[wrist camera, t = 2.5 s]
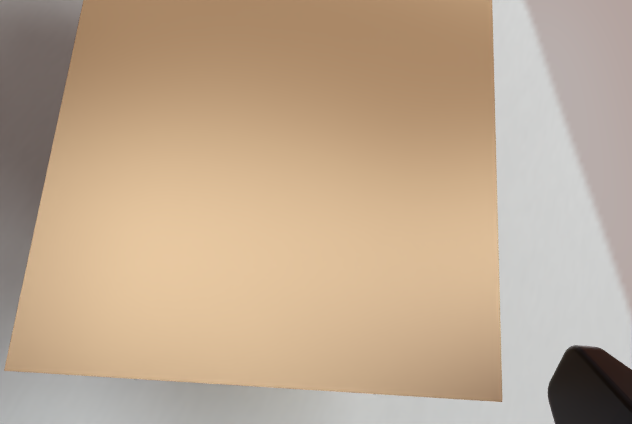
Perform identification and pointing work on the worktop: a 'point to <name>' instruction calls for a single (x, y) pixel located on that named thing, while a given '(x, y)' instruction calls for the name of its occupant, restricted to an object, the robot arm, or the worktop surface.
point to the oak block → (272, 199)
